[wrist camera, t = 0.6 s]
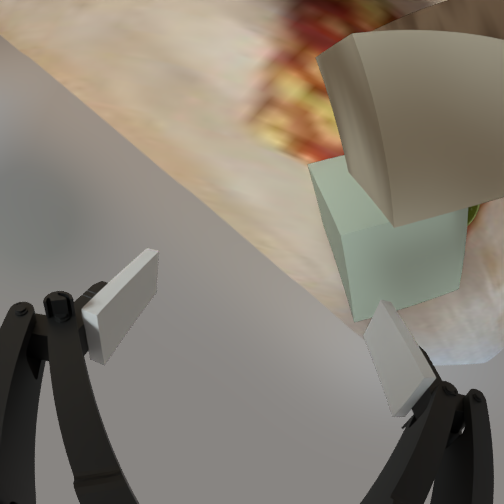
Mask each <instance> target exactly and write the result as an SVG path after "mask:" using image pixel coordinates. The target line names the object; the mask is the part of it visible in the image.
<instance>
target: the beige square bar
mask: <svg viewBox="0 0 504 504" xmlns="http://www.w3.org/2000/svg"><path fill="white" fill-rule="evenodd" d="M316 60H317V63H318V66H319V69H320V71H321V74H322V77H323V80H324V83H325V86H326V90H327V93H328V96H329V99H330V102H331V106H332V109H333V113H334V116H335V120H336V123H337V127H338V131H339V135H340V138H341V142H342V146H343V150H344V155H345V159H346V163H347V168H348V172H349V173H350V174H351V176H352V177H353V178H354V179H355V180H356V181H357V182H358V184H359V185H360V186H361V187H362V188H363V189H364V191H365V192H366V193H367V194H368V195H369V197H370V198H371V199H372V200H373V201H374V203H375V204H376V205H377V206H378V208H379V209H380V210H381V211H382V213H383V214H384V215H385V216H386V218H387V219H388V220H389V222H390V223H391V224H392V226H393V227H394V228H395V227H399V226H403V225H406V224H410V223H414V222H417V221H421V220H425V219H428V218H432V217H436V216H439V215H443V214H446V213H450V212H454V211H457V210H461V209H464V208H468V207H471V206H475V205H478V204H482V203H485V202H489V201H492V200H496V199H499V198H503V197H504V40H502V39H497V38H492V37H487V36H481V35H474V34H467V33H458V32H448V31H432V30H389V31H373V32H361V33H352V34H350V35H349V36H347V37H346V38H344V39H343V40H341V41H339V42H338V43H336V44H335V45H333V46H332V47H330V48H329V49H327V50H326V51H324V52H323V53H321V54H320V55H319V56H317V57H316Z"/></svg>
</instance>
